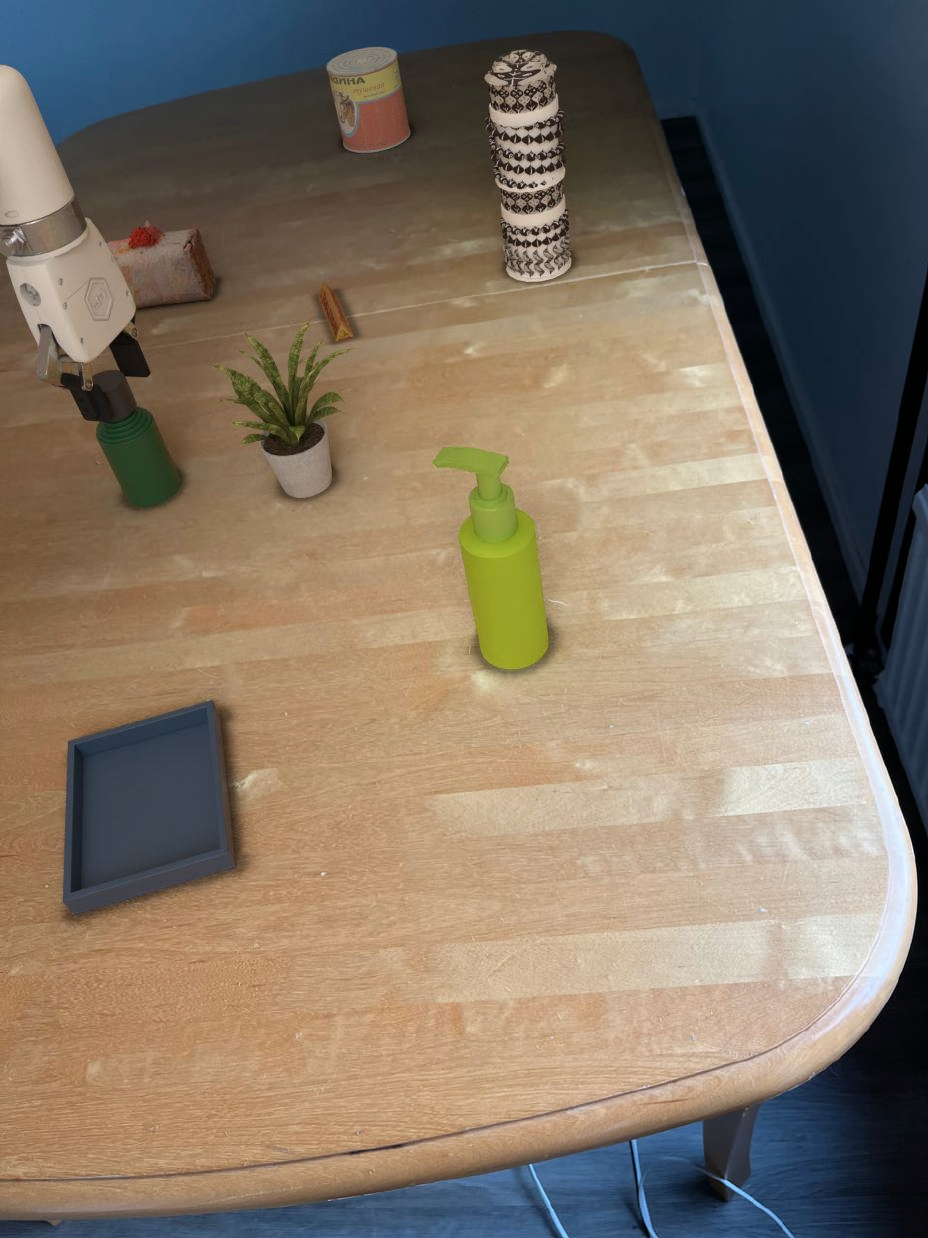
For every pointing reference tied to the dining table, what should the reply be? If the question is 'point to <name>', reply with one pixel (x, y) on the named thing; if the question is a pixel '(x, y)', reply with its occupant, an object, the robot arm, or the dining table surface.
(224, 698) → the dining table surface
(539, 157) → the decorative candle
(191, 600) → the dining table surface
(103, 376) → the cap
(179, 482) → the bottle
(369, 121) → the canned food
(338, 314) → the chocolate bar
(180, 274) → the food item
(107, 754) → the tray
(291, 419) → the house plant
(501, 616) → the soap dispenser
